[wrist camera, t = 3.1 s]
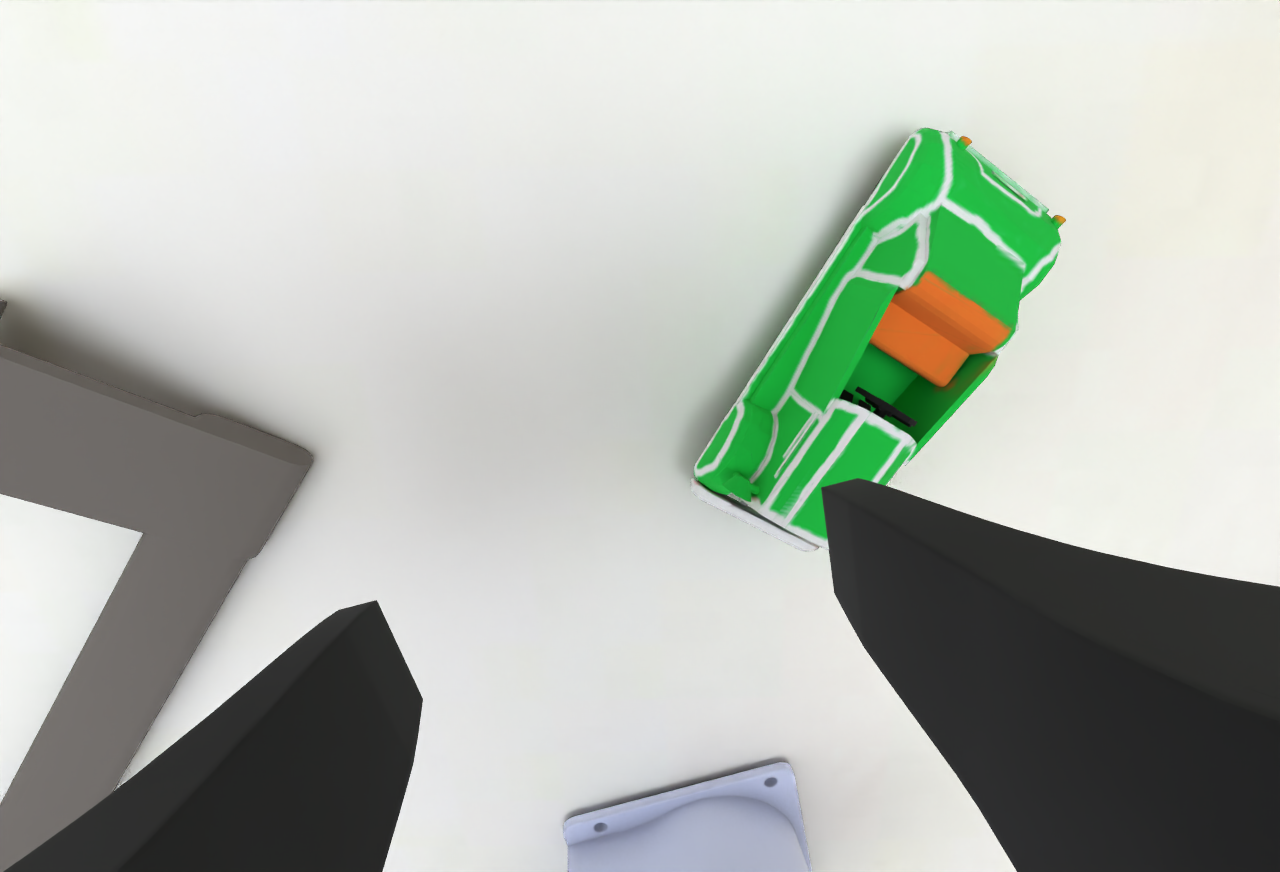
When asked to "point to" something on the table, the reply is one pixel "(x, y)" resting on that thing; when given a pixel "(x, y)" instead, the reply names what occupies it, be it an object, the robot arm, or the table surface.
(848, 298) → the toy car
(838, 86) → the table surface
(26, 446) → the toilet paper hanger
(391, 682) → the robot arm
